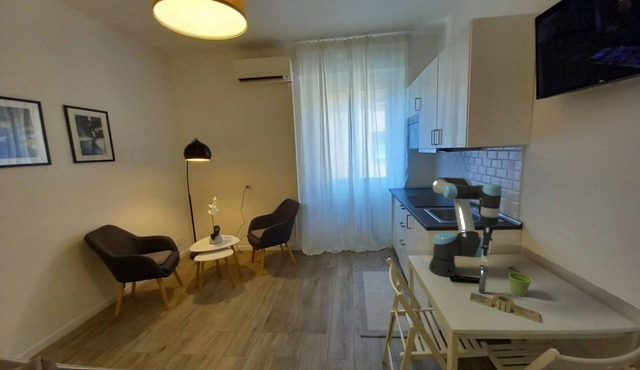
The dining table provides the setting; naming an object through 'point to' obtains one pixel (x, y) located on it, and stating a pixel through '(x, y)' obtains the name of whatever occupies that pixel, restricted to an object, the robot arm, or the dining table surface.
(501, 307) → the hinge
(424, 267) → the dining table surface
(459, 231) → the robot arm
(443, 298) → the dining table surface
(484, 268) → the pin
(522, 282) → the plant pot
